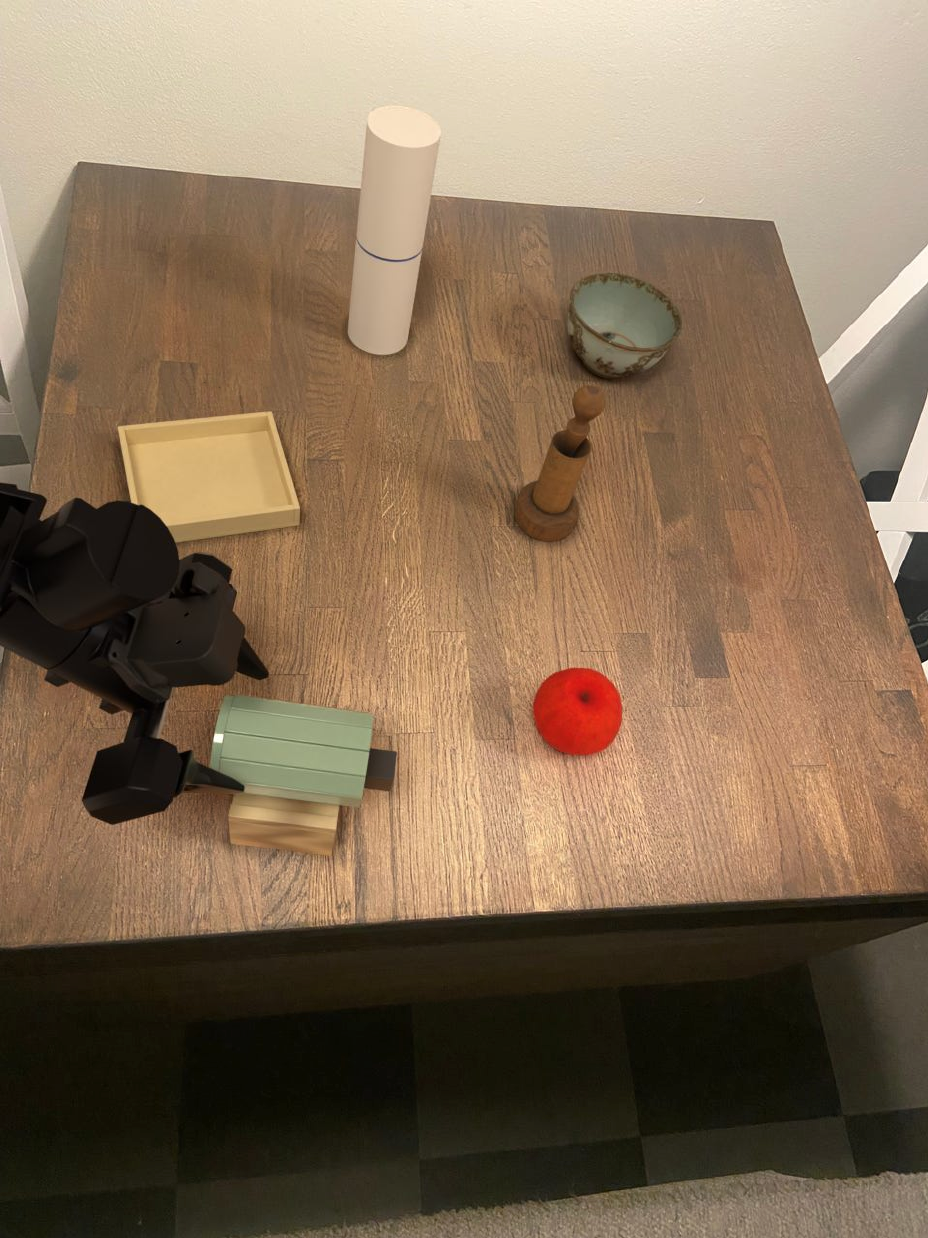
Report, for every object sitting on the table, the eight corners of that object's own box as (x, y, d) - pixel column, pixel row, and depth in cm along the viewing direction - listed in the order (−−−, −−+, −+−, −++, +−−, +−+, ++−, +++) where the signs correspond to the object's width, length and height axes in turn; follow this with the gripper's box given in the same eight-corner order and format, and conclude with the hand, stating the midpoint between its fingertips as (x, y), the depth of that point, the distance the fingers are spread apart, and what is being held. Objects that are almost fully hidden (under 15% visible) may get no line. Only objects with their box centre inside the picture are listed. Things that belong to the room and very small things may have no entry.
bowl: (540, 377, 109) (558, 323, 103) (565, 312, 117) (583, 258, 110) (648, 415, 109) (673, 363, 102) (666, 347, 117) (690, 295, 110)
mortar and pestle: (502, 503, 97) (544, 374, 82) (551, 486, 100) (601, 358, 85) (535, 549, 94) (585, 424, 80) (585, 531, 97) (642, 406, 82)
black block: (313, 782, 70) (314, 770, 68) (317, 754, 72) (319, 741, 70) (390, 792, 71) (394, 780, 69) (393, 763, 72) (397, 751, 70)
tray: (139, 547, 86) (136, 529, 84) (120, 445, 92) (117, 425, 90) (299, 525, 91) (300, 508, 88) (271, 429, 97) (271, 410, 95)
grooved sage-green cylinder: (211, 802, 69) (206, 763, 63) (230, 719, 73) (227, 676, 67) (357, 820, 70) (365, 784, 64) (368, 738, 74) (376, 697, 68)
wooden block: (230, 844, 72) (227, 816, 67) (253, 735, 78) (252, 701, 73) (331, 856, 73) (335, 829, 68) (347, 747, 79) (352, 715, 74)
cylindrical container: (352, 354, 106) (373, 145, 85) (343, 313, 109) (362, 102, 89) (412, 354, 107) (447, 149, 87) (402, 314, 111) (433, 108, 90)
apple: (569, 677, 87) (592, 636, 81) (626, 741, 84) (654, 703, 78) (506, 719, 83) (525, 679, 77) (563, 787, 80) (587, 751, 74)
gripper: (108, 735, 47) (315, 837, 57) (191, 468, 57) (354, 595, 68) (-13, 777, 52) (195, 863, 63) (83, 527, 63) (248, 635, 73)
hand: (253, 731), depth 66 cm, fingers open, 9 cm apart
